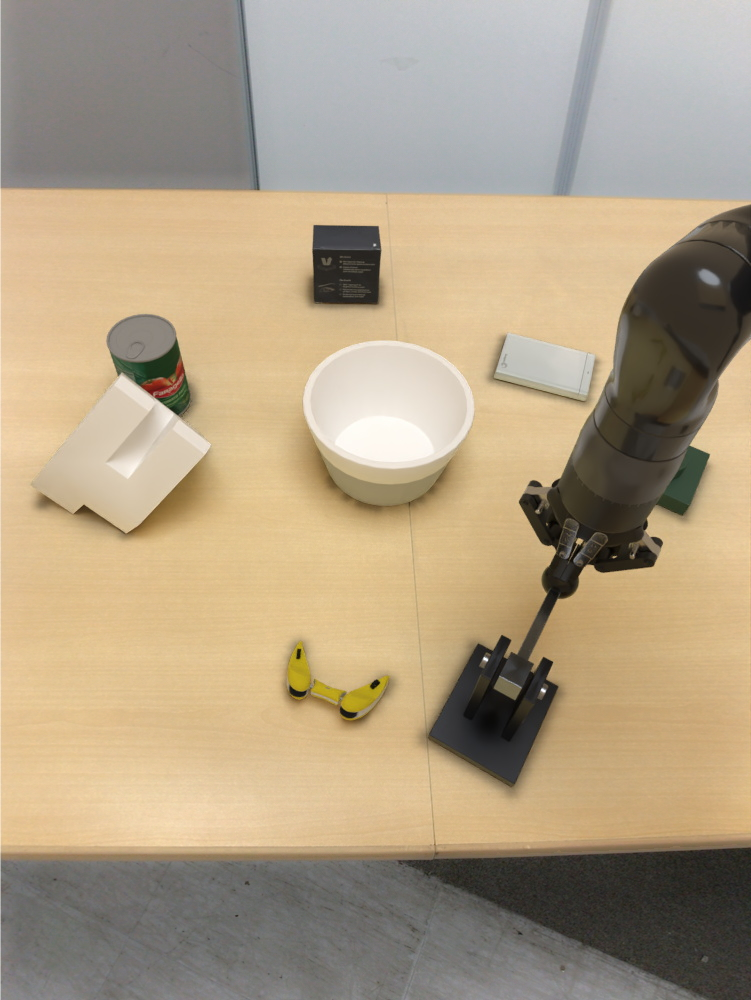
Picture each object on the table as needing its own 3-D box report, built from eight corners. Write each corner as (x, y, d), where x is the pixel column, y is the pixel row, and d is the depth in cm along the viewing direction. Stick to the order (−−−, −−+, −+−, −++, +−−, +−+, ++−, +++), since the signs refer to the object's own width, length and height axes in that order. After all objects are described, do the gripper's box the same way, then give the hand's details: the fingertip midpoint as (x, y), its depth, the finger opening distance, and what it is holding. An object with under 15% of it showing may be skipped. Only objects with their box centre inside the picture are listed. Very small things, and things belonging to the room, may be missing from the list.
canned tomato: (142, 373, 97) (122, 307, 88) (199, 384, 97) (186, 319, 88) (118, 418, 93) (94, 353, 84) (178, 429, 92) (161, 366, 83)
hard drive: (495, 370, 98) (588, 394, 97) (507, 330, 103) (596, 352, 101) (493, 379, 100) (584, 403, 98) (505, 339, 104) (593, 361, 102)
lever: (544, 569, 75) (554, 549, 72) (577, 586, 74) (589, 565, 72) (484, 687, 66) (493, 668, 63) (521, 707, 65) (531, 689, 63)
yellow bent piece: (270, 700, 72) (273, 676, 70) (296, 657, 77) (301, 634, 75) (364, 739, 70) (371, 716, 68) (385, 693, 75) (392, 670, 74)
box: (376, 279, 110) (380, 224, 102) (378, 305, 107) (381, 249, 99) (314, 278, 110) (312, 222, 102) (313, 304, 106) (312, 248, 99)
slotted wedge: (113, 541, 86) (174, 500, 73) (29, 484, 82) (77, 429, 69) (173, 455, 94) (238, 403, 80) (98, 399, 90) (154, 334, 76)
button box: (703, 464, 93) (716, 444, 90) (682, 515, 88) (696, 496, 85) (620, 429, 96) (630, 408, 92) (595, 476, 91) (605, 456, 88)
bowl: (389, 554, 83) (396, 500, 74) (272, 459, 90) (265, 399, 81) (492, 458, 92) (509, 399, 83) (378, 378, 99) (382, 316, 90)
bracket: (476, 647, 77) (496, 595, 68) (556, 690, 75) (589, 642, 65) (427, 738, 72) (442, 695, 62) (512, 787, 69) (541, 751, 60)
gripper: (523, 458, 56) (484, 569, 71) (692, 536, 53) (615, 636, 67) (559, 396, 60) (515, 514, 74) (719, 465, 57) (641, 574, 71)
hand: (563, 572), depth 71 cm, fingers closed
